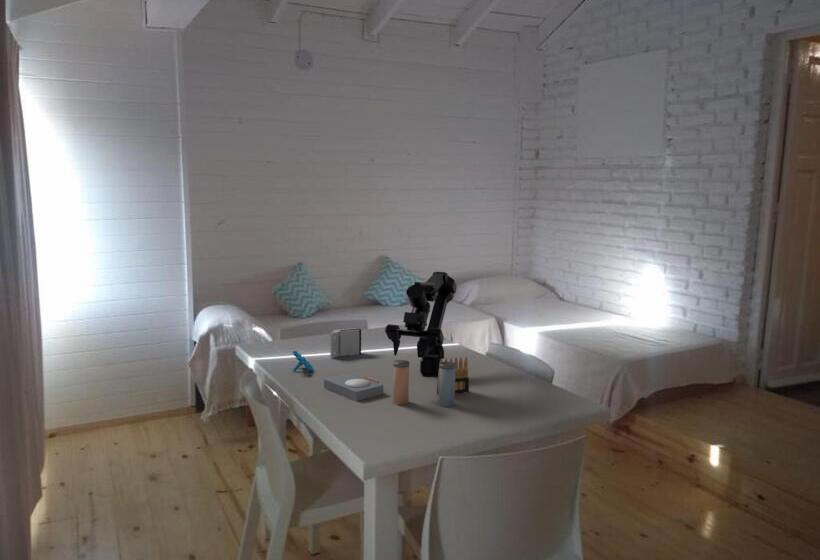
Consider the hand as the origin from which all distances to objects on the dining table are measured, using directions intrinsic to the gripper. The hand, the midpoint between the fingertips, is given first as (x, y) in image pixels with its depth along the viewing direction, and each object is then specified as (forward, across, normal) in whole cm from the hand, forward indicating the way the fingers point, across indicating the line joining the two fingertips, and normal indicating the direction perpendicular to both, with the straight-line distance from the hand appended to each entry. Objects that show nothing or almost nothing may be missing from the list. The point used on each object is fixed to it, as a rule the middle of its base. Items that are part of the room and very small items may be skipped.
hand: (408, 356), depth 213 cm
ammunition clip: (+4, +13, +15) cm, 20 cm away
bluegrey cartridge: (+12, +14, +6) cm, 20 cm away
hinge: (-18, -39, +37) cm, 56 cm away
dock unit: (+10, -18, +8) cm, 22 cm away
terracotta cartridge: (+14, 0, +4) cm, 15 cm away
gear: (0, -44, +19) cm, 49 cm away
